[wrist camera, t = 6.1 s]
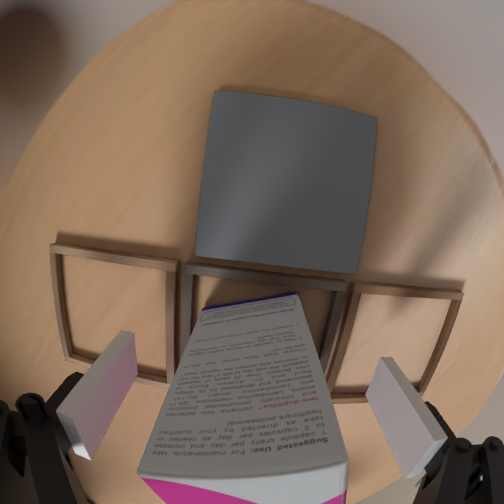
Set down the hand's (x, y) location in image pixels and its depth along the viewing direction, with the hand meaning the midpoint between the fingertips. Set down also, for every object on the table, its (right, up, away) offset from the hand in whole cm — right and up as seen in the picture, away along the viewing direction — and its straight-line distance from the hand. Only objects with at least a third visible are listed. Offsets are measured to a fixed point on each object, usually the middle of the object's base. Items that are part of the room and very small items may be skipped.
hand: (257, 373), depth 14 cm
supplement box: (0, +1, +3) cm, 4 cm away
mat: (+2, +10, +1) cm, 10 cm away
